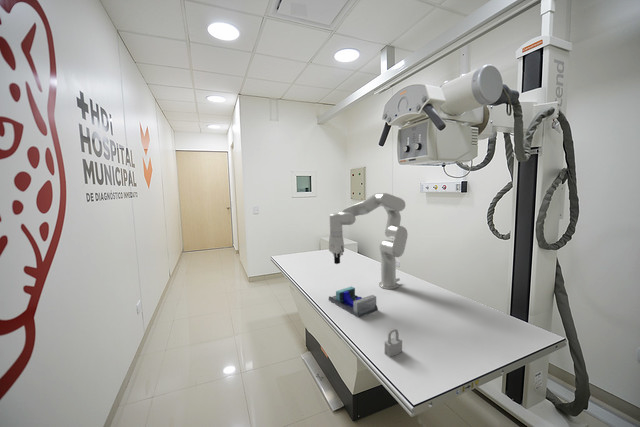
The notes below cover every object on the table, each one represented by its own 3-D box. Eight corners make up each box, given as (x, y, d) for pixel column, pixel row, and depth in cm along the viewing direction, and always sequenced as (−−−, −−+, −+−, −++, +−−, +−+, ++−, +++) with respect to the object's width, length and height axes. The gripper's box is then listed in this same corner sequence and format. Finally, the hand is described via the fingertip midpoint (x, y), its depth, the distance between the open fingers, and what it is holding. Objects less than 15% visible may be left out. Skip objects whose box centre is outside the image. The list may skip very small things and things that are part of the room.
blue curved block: (364, 307, 145) (363, 296, 145) (358, 309, 142) (358, 298, 142) (349, 300, 155) (349, 290, 154) (343, 302, 152) (343, 292, 152)
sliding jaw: (351, 295, 161) (351, 286, 160) (355, 297, 158) (354, 287, 158) (336, 300, 154) (335, 291, 154) (339, 302, 152) (339, 292, 151)
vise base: (346, 294, 167) (346, 283, 166) (377, 310, 144) (377, 297, 143) (328, 300, 159) (328, 288, 158) (358, 317, 136) (358, 303, 136)
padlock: (396, 347, 111) (396, 324, 110) (403, 352, 107) (403, 329, 106) (383, 352, 107) (383, 329, 106) (390, 358, 104) (390, 334, 103)
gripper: (324, 233, 163) (325, 261, 165) (338, 236, 151) (339, 267, 153) (333, 231, 167) (334, 259, 169) (349, 234, 155) (349, 264, 157)
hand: (337, 263), depth 161 cm, fingers closed
